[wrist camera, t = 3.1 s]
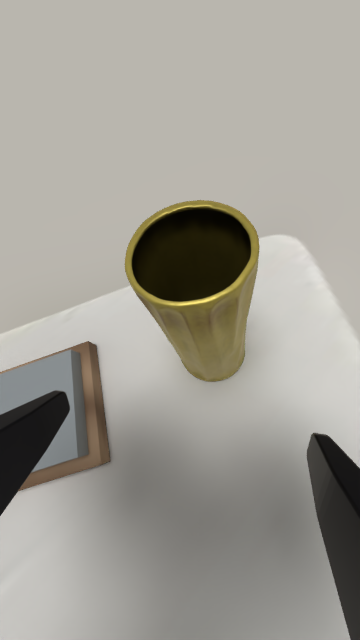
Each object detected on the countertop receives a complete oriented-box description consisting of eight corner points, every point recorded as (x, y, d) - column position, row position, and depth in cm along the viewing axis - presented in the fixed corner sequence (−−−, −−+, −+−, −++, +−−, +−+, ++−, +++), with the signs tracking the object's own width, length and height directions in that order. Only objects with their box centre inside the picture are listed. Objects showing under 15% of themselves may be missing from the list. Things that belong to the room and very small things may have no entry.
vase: (257, 365, 20) (310, 272, 7) (194, 392, 20) (136, 350, 7) (226, 310, 23) (225, 171, 10) (171, 335, 23) (98, 228, 10)
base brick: (110, 461, 19) (101, 464, 18) (-24, 503, 20) (-42, 509, 19) (96, 345, 24) (88, 341, 23) (-12, 383, 25) (-26, 381, 23)
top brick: (88, 454, 18) (77, 457, 17) (-30, 492, 19) (-50, 498, 18) (80, 353, 22) (70, 349, 21) (-18, 387, 23) (-34, 386, 21)
